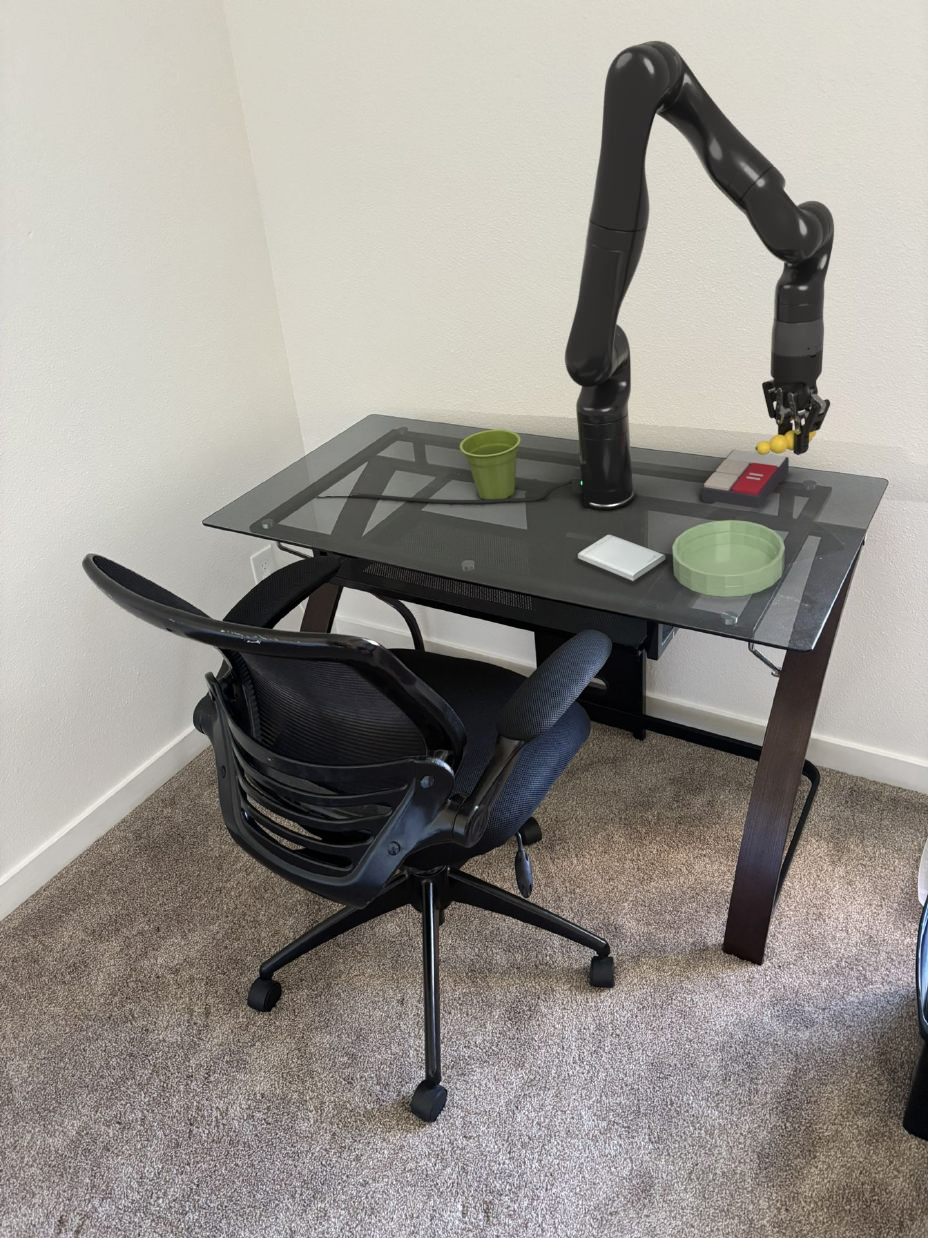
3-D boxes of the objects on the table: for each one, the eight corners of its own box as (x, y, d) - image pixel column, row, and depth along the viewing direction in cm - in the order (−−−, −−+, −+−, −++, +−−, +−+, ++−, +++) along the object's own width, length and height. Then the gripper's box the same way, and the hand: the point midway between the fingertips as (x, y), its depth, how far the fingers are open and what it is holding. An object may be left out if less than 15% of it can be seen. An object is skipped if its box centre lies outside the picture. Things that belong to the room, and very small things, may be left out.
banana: (769, 462, 150) (770, 444, 148) (753, 453, 154) (753, 435, 152) (828, 441, 153) (830, 423, 151) (810, 433, 156) (812, 415, 155)
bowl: (676, 603, 148) (676, 579, 145) (670, 547, 162) (669, 524, 159) (791, 596, 144) (792, 571, 142) (774, 539, 158) (775, 516, 156)
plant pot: (482, 514, 182) (473, 461, 176) (459, 491, 192) (450, 440, 185) (537, 495, 185) (530, 443, 179) (512, 474, 194) (505, 423, 188)
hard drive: (665, 554, 157) (609, 532, 166) (632, 575, 153) (577, 552, 162) (665, 562, 158) (610, 540, 166) (633, 584, 154) (578, 560, 163)
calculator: (699, 484, 171) (732, 445, 180) (700, 504, 173) (732, 465, 182) (758, 493, 165) (789, 453, 174) (758, 514, 167) (789, 473, 176)
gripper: (747, 341, 148) (746, 442, 158) (807, 363, 137) (802, 471, 146) (787, 328, 150) (783, 429, 159) (849, 349, 139) (842, 456, 148)
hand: (792, 448), depth 153 cm, fingers closed on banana, 3 cm apart
